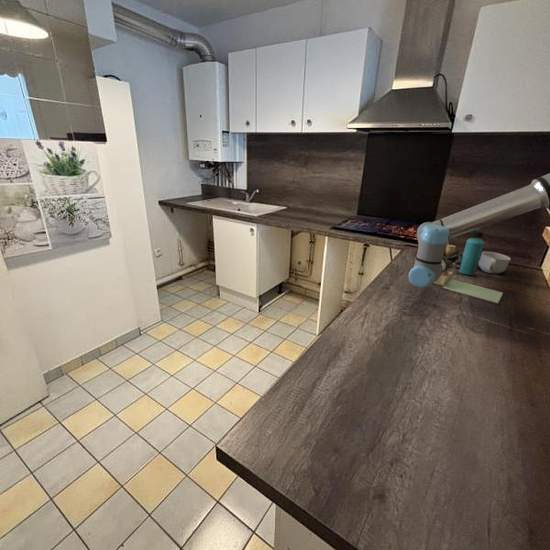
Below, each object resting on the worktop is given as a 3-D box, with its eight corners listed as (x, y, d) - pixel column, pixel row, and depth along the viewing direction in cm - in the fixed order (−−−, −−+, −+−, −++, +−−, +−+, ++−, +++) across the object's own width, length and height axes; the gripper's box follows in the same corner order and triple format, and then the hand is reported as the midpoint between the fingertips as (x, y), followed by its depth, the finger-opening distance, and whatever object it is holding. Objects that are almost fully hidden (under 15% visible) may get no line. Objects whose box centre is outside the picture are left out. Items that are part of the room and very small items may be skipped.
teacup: (481, 265, 141) (486, 249, 137) (508, 272, 133) (514, 255, 130) (470, 272, 132) (475, 255, 129) (498, 279, 125) (504, 262, 122)
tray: (502, 295, 111) (503, 292, 110) (497, 305, 103) (498, 303, 102) (450, 281, 122) (450, 278, 122) (441, 289, 114) (442, 287, 113)
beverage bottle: (476, 279, 125) (491, 233, 117) (460, 277, 126) (473, 232, 118) (470, 273, 131) (483, 229, 123) (454, 272, 132) (466, 228, 124)
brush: (451, 279, 121) (460, 244, 115) (443, 286, 114) (452, 249, 108) (440, 276, 123) (449, 242, 117) (432, 282, 117) (441, 247, 111)
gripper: (409, 270, 109) (429, 256, 124) (457, 282, 99) (472, 265, 114) (413, 250, 106) (433, 239, 122) (463, 262, 96) (478, 247, 112)
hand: (452, 252), depth 118 cm, fingers closed on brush, 3 cm apart
